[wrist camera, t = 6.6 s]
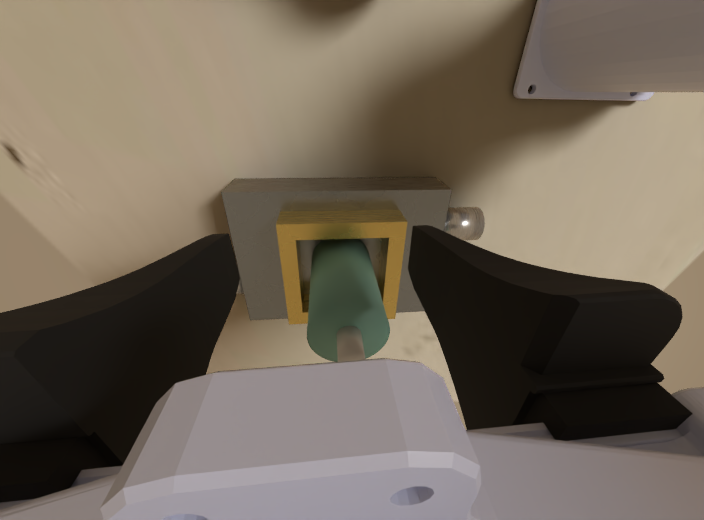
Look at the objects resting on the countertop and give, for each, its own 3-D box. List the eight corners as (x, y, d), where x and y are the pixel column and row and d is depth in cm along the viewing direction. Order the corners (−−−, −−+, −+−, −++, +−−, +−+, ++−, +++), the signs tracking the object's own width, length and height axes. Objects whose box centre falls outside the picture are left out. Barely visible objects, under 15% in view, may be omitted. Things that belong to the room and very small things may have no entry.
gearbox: (474, 176, 20) (515, 199, 16) (448, 287, 26) (473, 326, 21) (188, 179, 19) (148, 204, 14) (221, 297, 24) (199, 342, 19)
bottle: (361, 226, 18) (386, 316, 11) (374, 274, 20) (403, 376, 13) (303, 243, 18) (290, 342, 11) (322, 289, 21) (322, 396, 13)
